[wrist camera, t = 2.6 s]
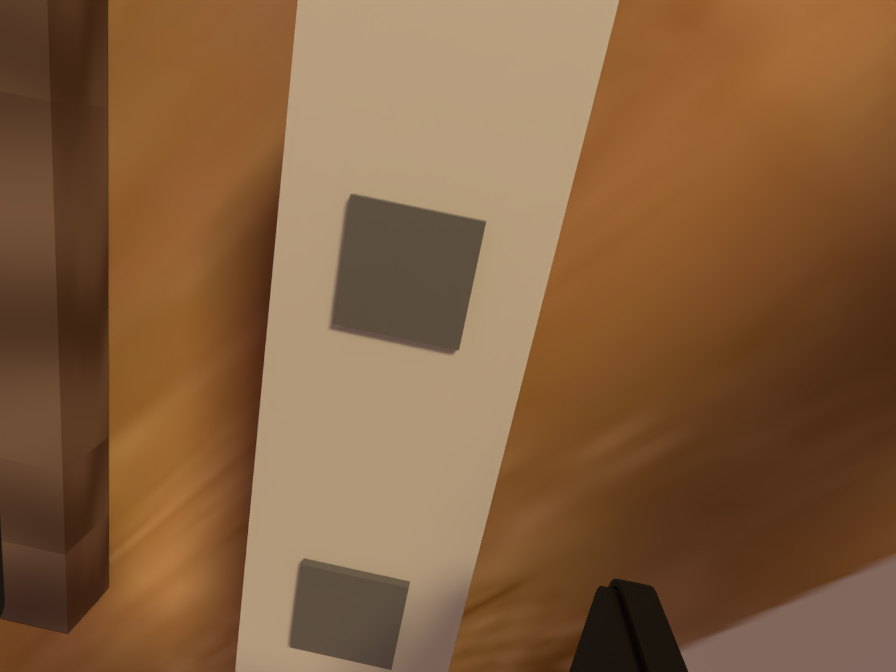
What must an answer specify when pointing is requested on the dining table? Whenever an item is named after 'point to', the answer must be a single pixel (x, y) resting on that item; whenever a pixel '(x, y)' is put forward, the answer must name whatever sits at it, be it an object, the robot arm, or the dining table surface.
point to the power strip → (404, 313)
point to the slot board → (53, 309)
